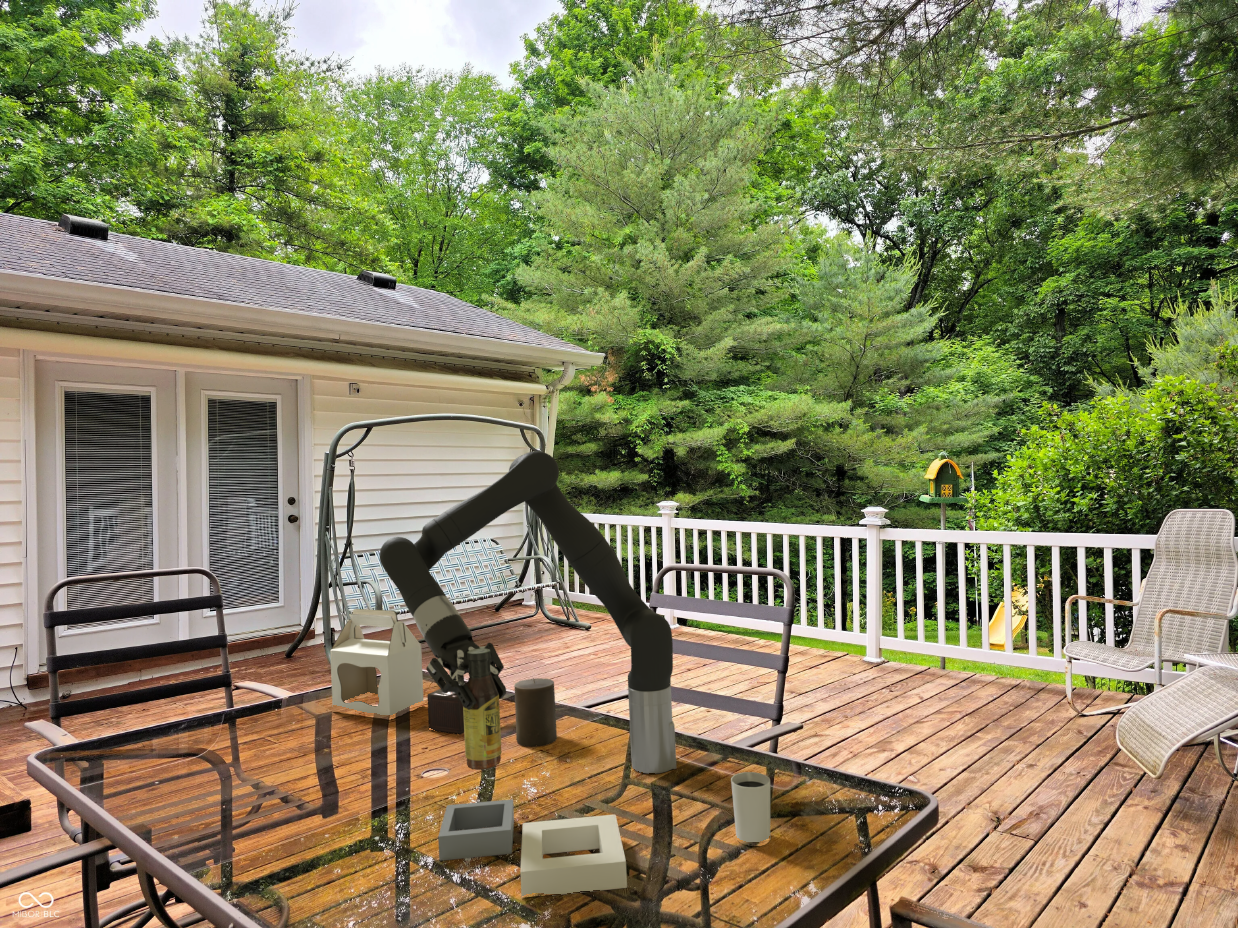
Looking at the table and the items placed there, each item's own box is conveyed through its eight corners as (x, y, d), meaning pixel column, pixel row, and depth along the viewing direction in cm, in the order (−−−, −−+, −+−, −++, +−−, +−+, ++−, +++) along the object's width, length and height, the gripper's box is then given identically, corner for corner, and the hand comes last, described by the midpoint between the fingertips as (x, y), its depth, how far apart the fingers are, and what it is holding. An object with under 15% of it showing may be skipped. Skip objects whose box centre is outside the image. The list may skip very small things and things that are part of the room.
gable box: (331, 712, 211) (327, 612, 211) (367, 698, 222) (363, 604, 223) (391, 720, 200) (386, 616, 201) (424, 706, 212) (420, 607, 213)
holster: (514, 820, 139) (513, 799, 139) (511, 853, 127) (510, 829, 127) (448, 827, 137) (447, 805, 137) (439, 860, 125) (438, 836, 125)
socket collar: (616, 837, 131) (615, 814, 131) (627, 887, 115) (625, 861, 115) (523, 846, 129) (522, 822, 129) (521, 898, 113) (520, 871, 113)
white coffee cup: (749, 852, 123) (746, 791, 124) (725, 835, 129) (722, 777, 130) (781, 841, 127) (778, 781, 127) (756, 825, 132) (753, 768, 133)
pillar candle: (540, 749, 174) (537, 685, 174) (508, 743, 179) (505, 680, 179) (565, 736, 182) (562, 674, 182) (533, 730, 187) (530, 670, 188)
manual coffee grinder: (462, 735, 186) (459, 663, 186) (427, 730, 191) (424, 660, 191) (498, 716, 200) (495, 648, 200) (465, 712, 205) (462, 646, 205)
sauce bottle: (494, 772, 127) (487, 656, 127) (460, 771, 129) (453, 656, 129) (507, 756, 134) (501, 646, 134) (475, 756, 135) (468, 646, 135)
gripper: (417, 620, 131) (464, 699, 123) (481, 606, 142) (528, 677, 134) (400, 647, 134) (445, 726, 126) (464, 631, 145) (509, 702, 138)
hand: (488, 700), depth 130 cm, fingers closed on sauce bottle, 6 cm apart
